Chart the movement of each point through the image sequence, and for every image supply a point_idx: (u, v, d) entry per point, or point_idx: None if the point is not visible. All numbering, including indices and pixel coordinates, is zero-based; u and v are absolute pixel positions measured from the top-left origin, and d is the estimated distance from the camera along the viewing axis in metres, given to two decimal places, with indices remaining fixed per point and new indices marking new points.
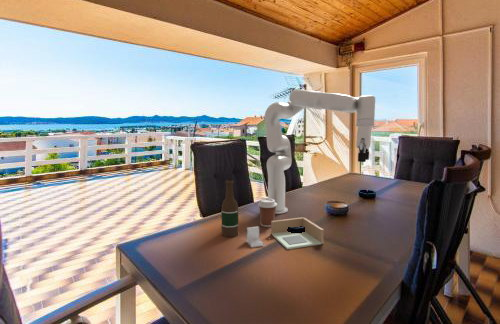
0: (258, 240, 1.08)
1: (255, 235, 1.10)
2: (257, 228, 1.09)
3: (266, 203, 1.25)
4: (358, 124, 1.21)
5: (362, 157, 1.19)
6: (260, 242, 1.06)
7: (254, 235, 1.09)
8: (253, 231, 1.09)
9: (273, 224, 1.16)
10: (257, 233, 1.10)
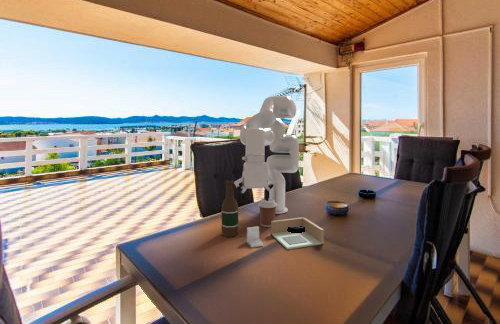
0: (258, 240, 1.08)
1: (255, 235, 1.10)
2: (257, 228, 1.09)
3: (266, 203, 1.25)
4: (264, 160, 1.05)
5: None
6: (260, 242, 1.06)
7: (254, 235, 1.09)
8: (253, 231, 1.09)
9: (273, 224, 1.16)
10: (257, 233, 1.10)
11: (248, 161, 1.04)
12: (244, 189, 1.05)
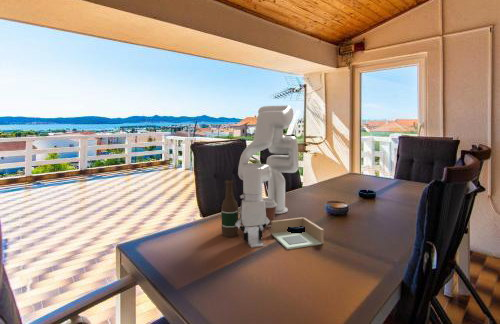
0: (258, 240, 1.08)
1: (255, 235, 1.10)
2: (257, 228, 1.09)
3: (266, 203, 1.25)
4: (261, 199, 1.07)
5: None
6: (260, 242, 1.06)
7: (254, 235, 1.09)
8: (253, 231, 1.09)
9: (273, 224, 1.16)
10: (257, 233, 1.10)
11: (246, 200, 1.05)
12: (246, 229, 1.07)
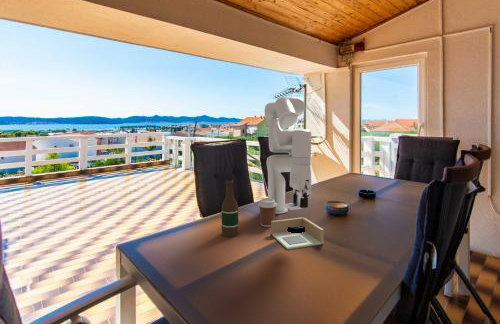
0: (296, 205, 1.06)
1: None
2: None
3: (266, 203, 1.25)
4: (299, 163, 1.03)
5: (306, 203, 1.05)
6: (292, 206, 1.05)
7: (299, 200, 1.07)
8: (299, 196, 1.08)
9: (273, 224, 1.16)
10: None
11: None
12: (293, 190, 1.10)
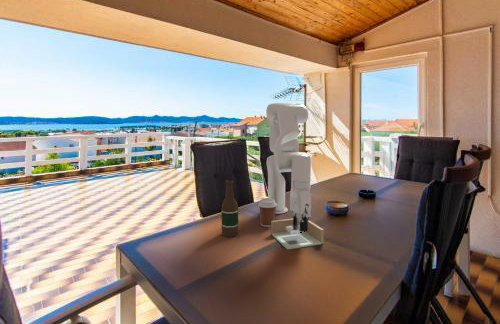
0: (296, 229, 1.07)
1: (299, 224, 1.08)
2: None
3: (266, 203, 1.25)
4: (298, 187, 1.04)
5: (305, 226, 1.06)
6: (292, 229, 1.06)
7: (299, 223, 1.08)
8: (298, 219, 1.09)
9: (273, 224, 1.16)
10: None
11: None
12: (293, 213, 1.11)
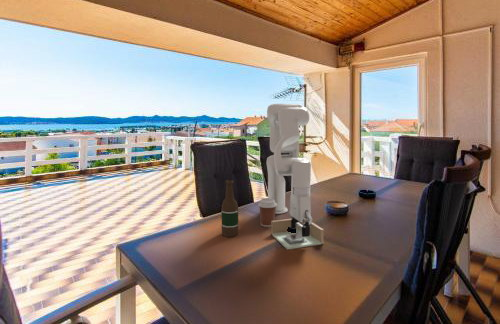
0: (296, 238, 1.08)
1: (299, 233, 1.09)
2: (300, 227, 1.08)
3: (266, 203, 1.25)
4: (298, 194, 1.04)
5: (307, 232, 1.04)
6: (291, 238, 1.07)
7: (299, 232, 1.09)
8: (298, 228, 1.09)
9: (273, 224, 1.16)
10: (300, 232, 1.08)
11: None
12: (292, 216, 1.13)
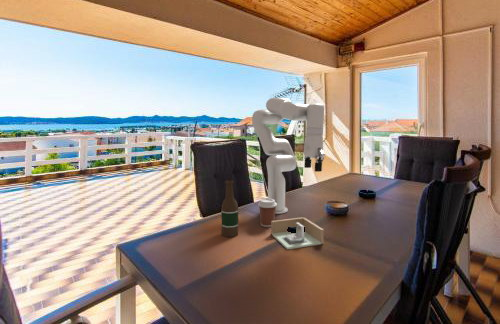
0: (296, 238, 1.08)
1: (299, 233, 1.09)
2: (300, 227, 1.08)
3: (266, 203, 1.25)
4: (312, 133, 1.17)
5: (320, 167, 1.17)
6: (291, 238, 1.07)
7: (299, 232, 1.09)
8: (298, 228, 1.09)
9: (273, 224, 1.16)
10: (300, 232, 1.08)
11: None
12: (305, 156, 1.27)
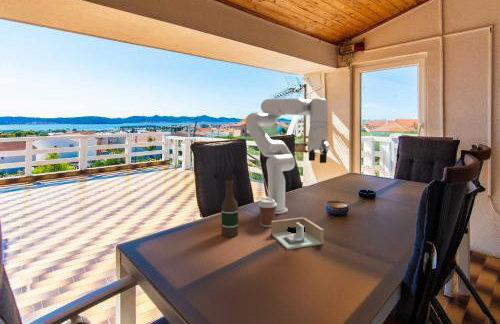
0: (296, 238, 1.08)
1: (299, 233, 1.09)
2: (300, 227, 1.08)
3: (266, 203, 1.25)
4: (316, 126, 1.22)
5: (325, 158, 1.22)
6: (291, 238, 1.07)
7: (299, 232, 1.09)
8: (298, 228, 1.09)
9: (273, 224, 1.16)
10: (300, 232, 1.08)
11: None
12: (309, 149, 1.31)
